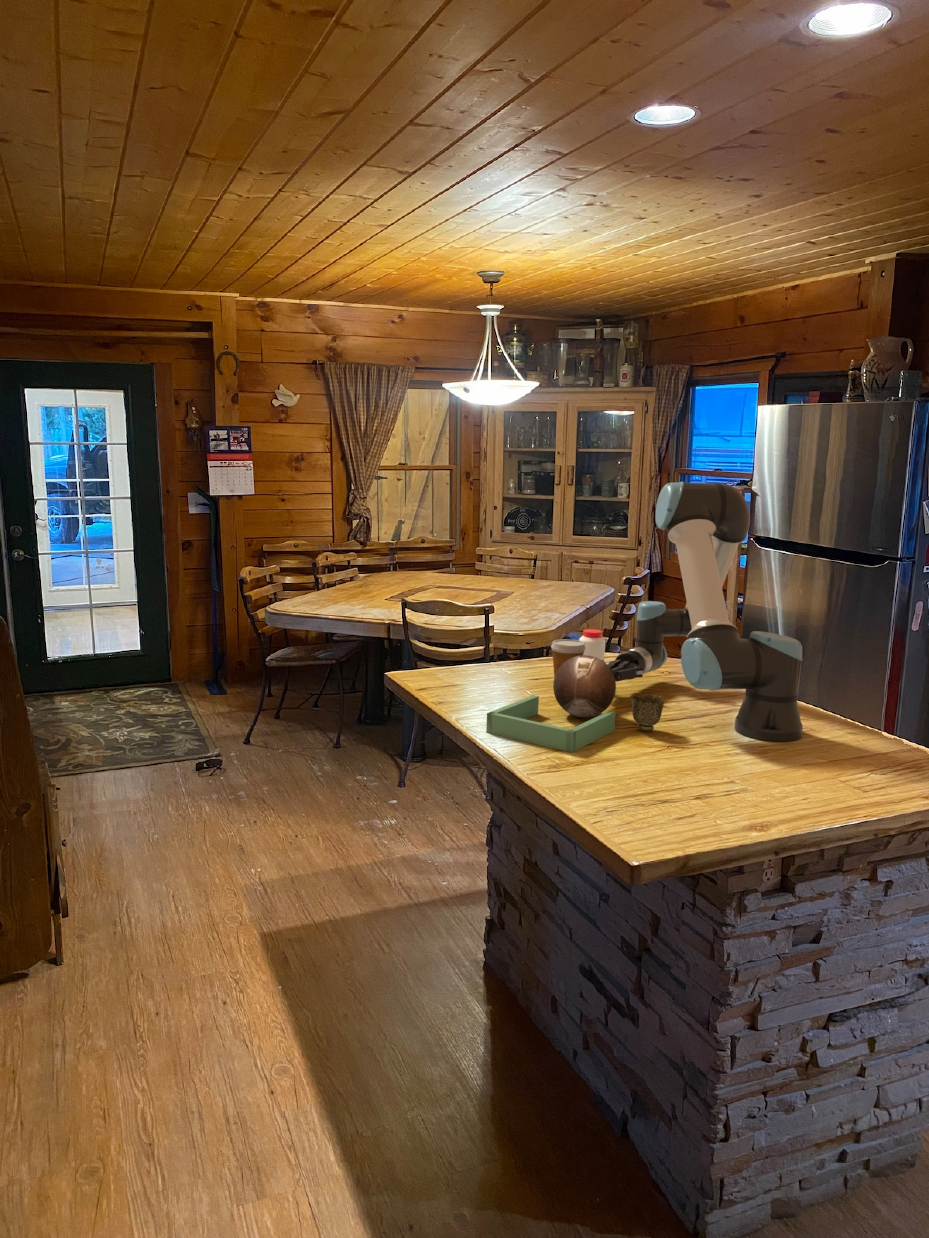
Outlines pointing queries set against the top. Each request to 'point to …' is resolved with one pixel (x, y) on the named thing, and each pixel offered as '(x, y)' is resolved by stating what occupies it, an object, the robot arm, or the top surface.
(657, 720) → the cup
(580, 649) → the disposable coffee cup
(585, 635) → the pill bottle
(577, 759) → the top surface
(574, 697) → the wooden sphere
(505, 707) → the green bracket
